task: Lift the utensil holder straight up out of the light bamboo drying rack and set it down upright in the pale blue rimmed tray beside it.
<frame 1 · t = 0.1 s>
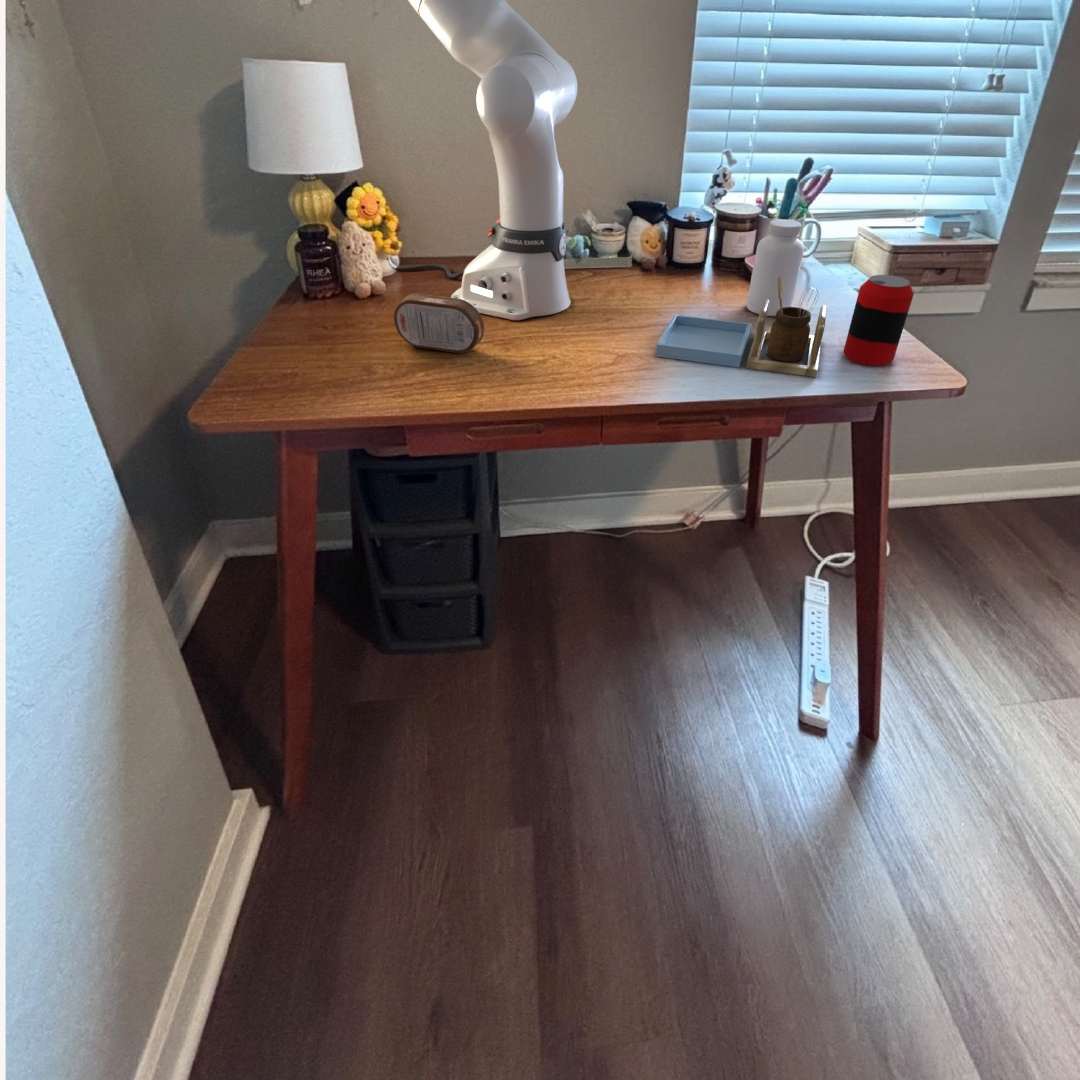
soda can: (867, 358, 115), on the table
tin: (440, 349, 118), on the table
utensil holder: (783, 356, 115), resting in rack
rack: (784, 355, 115), on the table
pill bottle: (768, 310, 132), on the table
tray: (703, 345, 119), on the table
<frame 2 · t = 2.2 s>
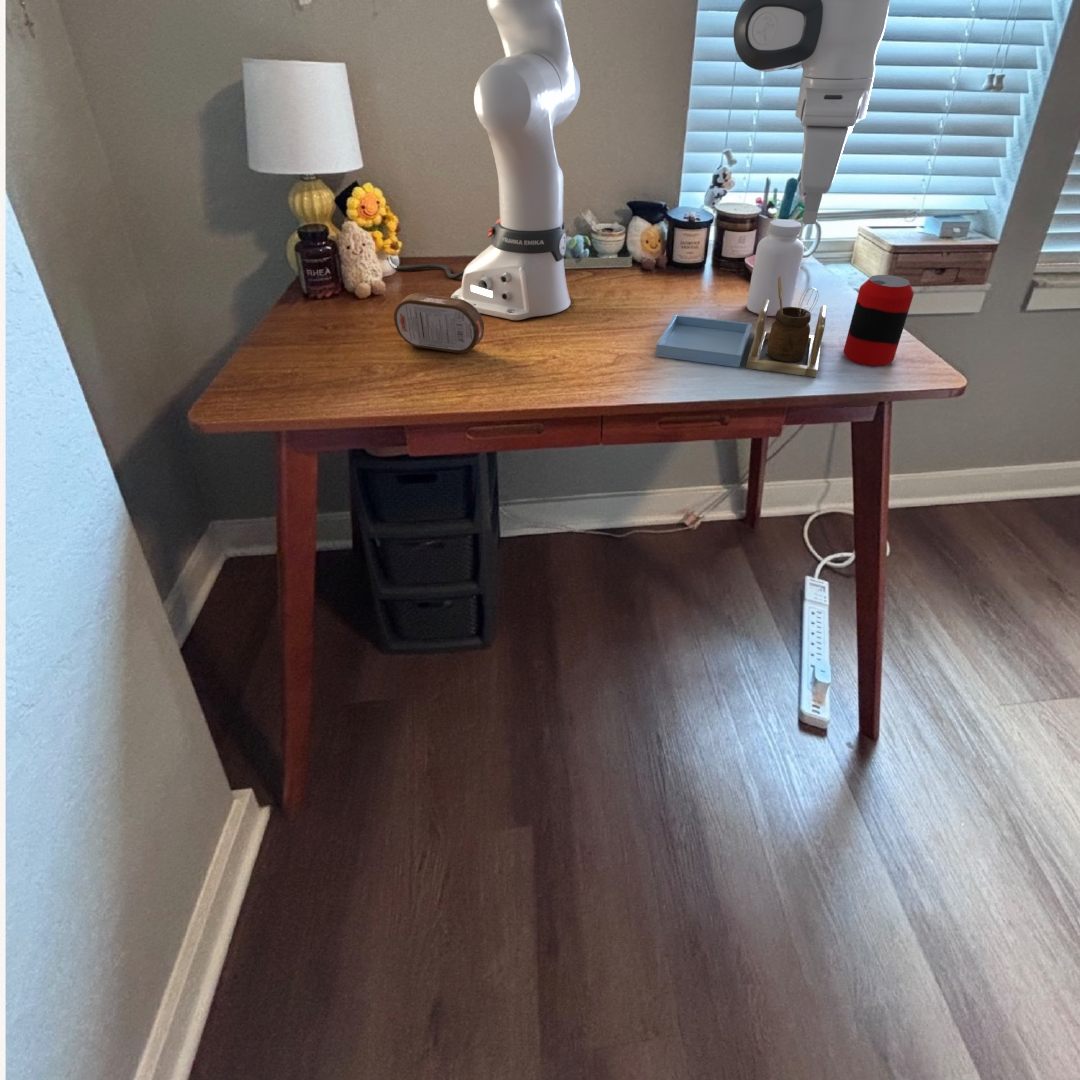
hand: (810, 215, 103), 21 cm above the table, tool pointing down, fingers open, 8 cm apart
nothing on the table moved.
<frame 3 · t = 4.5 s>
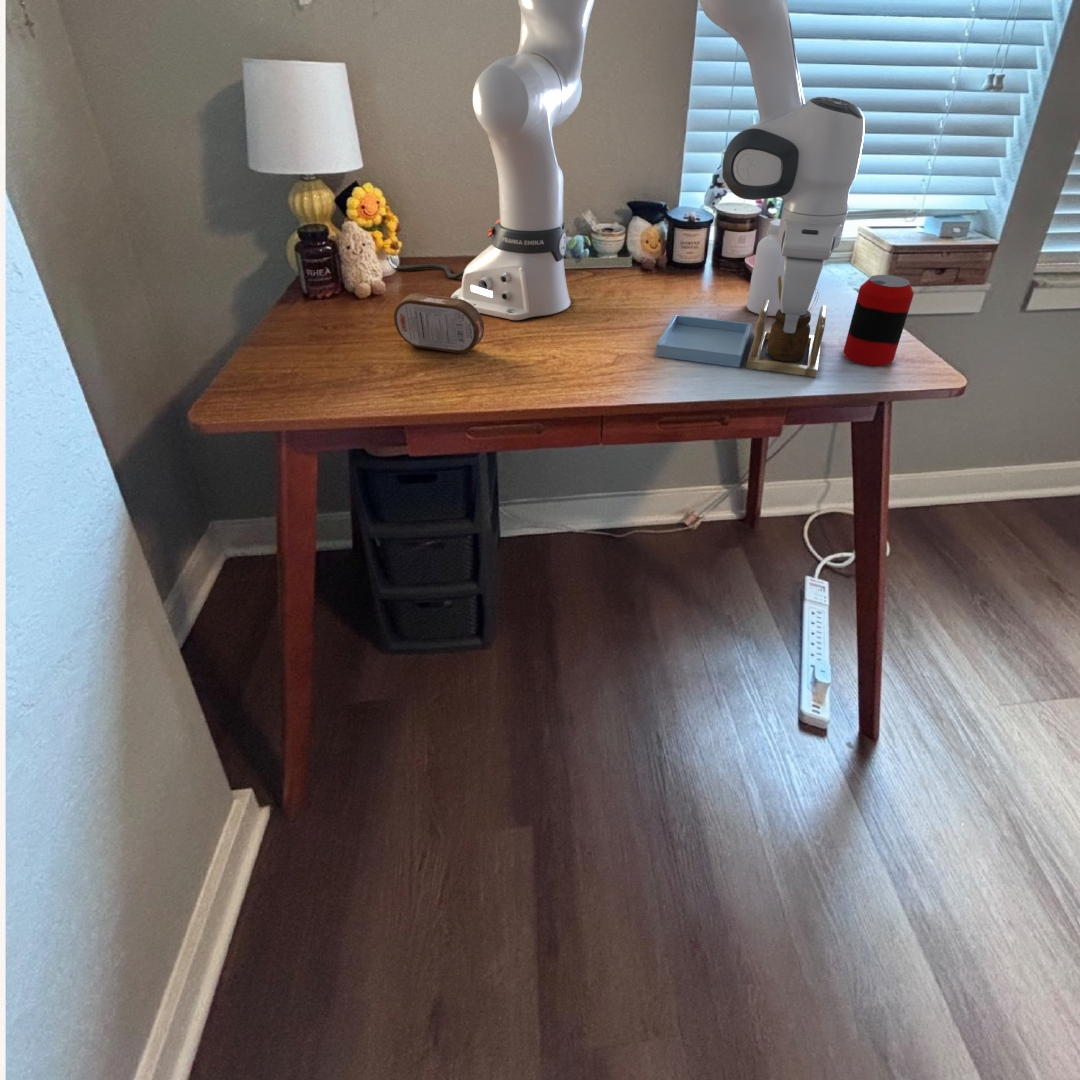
hand: (790, 323, 112), 5 cm above the table, tool pointing down, fingers closed on utensil holder, 5 cm apart
utensil holder: (783, 356, 115), resting in rack, touching gripper
everything else where it was.
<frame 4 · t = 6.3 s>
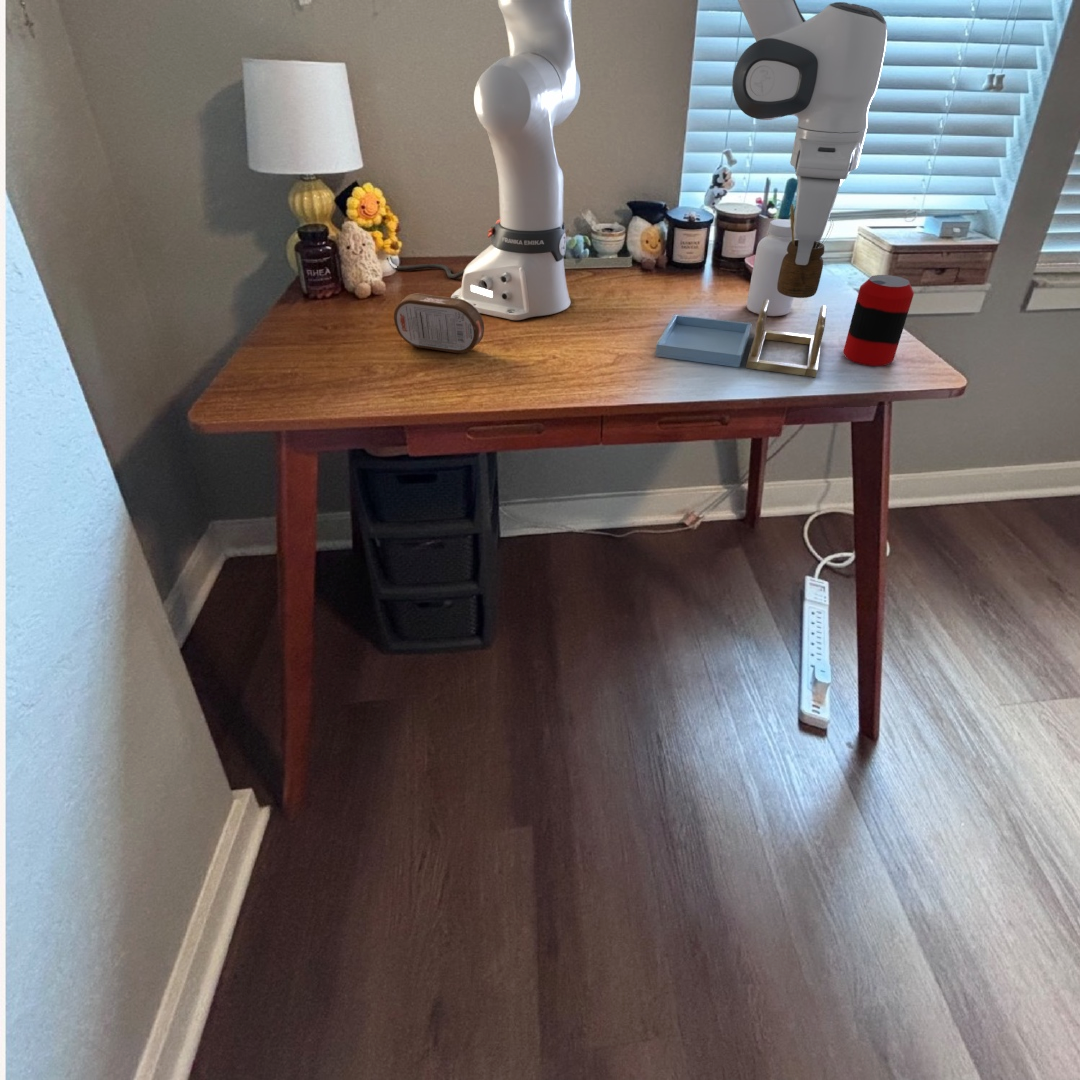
hand: (802, 257, 106), 15 cm above the table, tool pointing down, fingers closed on utensil holder, 5 cm apart
utensil holder: (794, 293, 110), point 10 cm above the table, touching gripper
everything else where it was.
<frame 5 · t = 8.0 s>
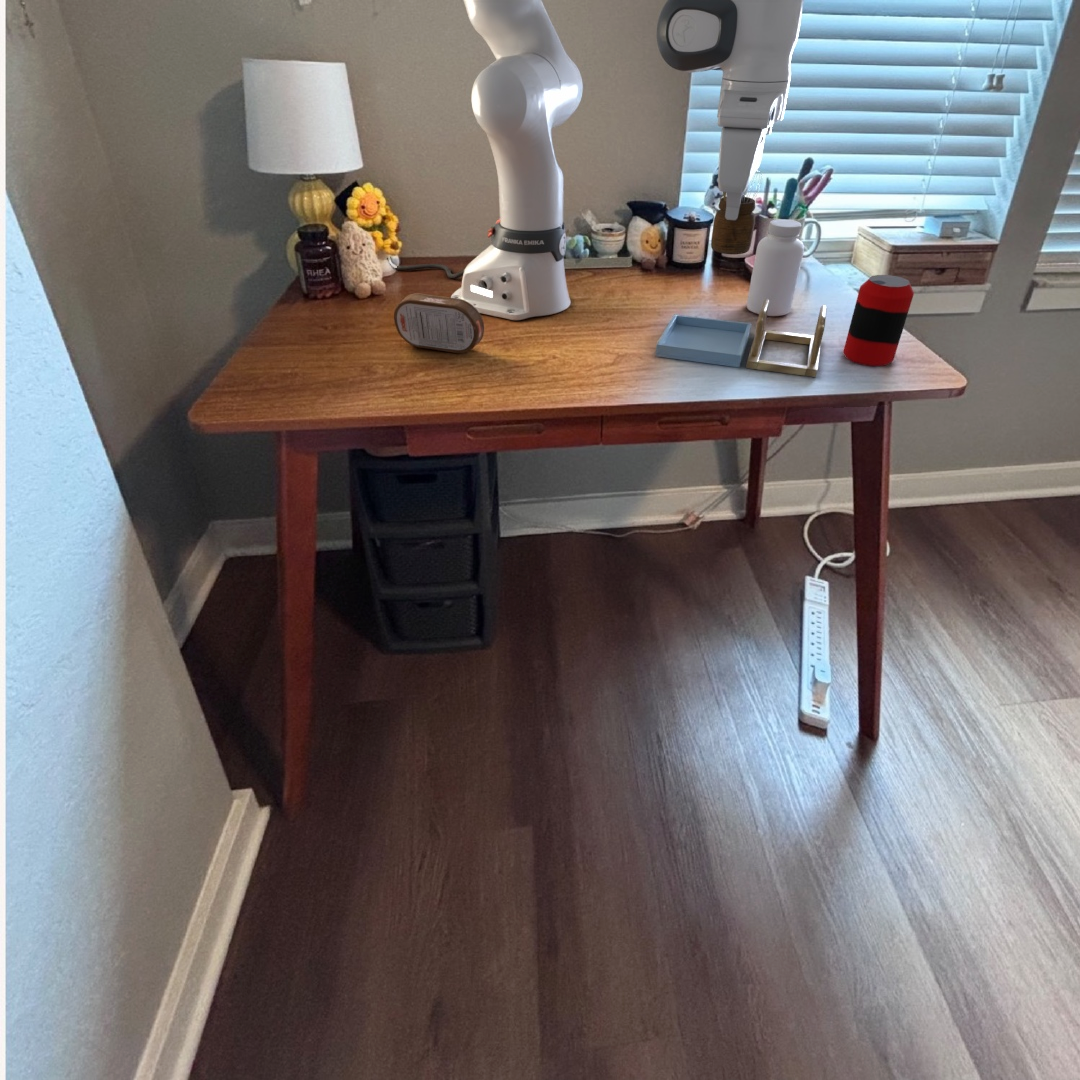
hand: (734, 213, 106), 20 cm above the table, tool pointing down, fingers closed on utensil holder, 5 cm apart
utensil holder: (728, 250, 109), point 15 cm above the table, touching gripper
everything else where it was.
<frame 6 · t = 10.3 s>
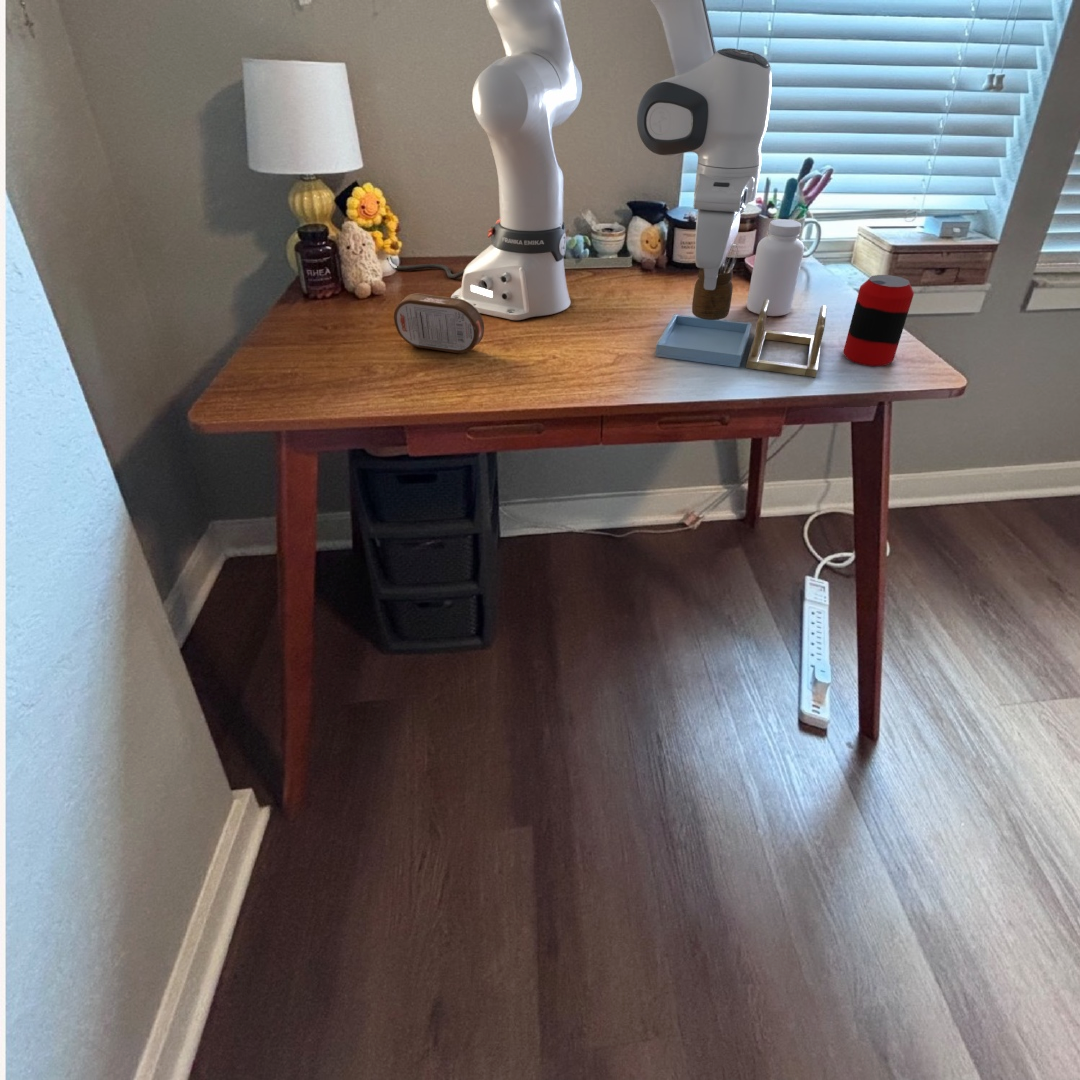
hand: (713, 282, 112), 10 cm above the table, tool pointing down, fingers closed on utensil holder, 5 cm apart
utensil holder: (708, 315, 116), point 5 cm above the table, touching gripper
everything else where it was.
when the fingers open (5 cm above the table, at t = 12.0 s): utensil holder stays where it is, resting on tray.
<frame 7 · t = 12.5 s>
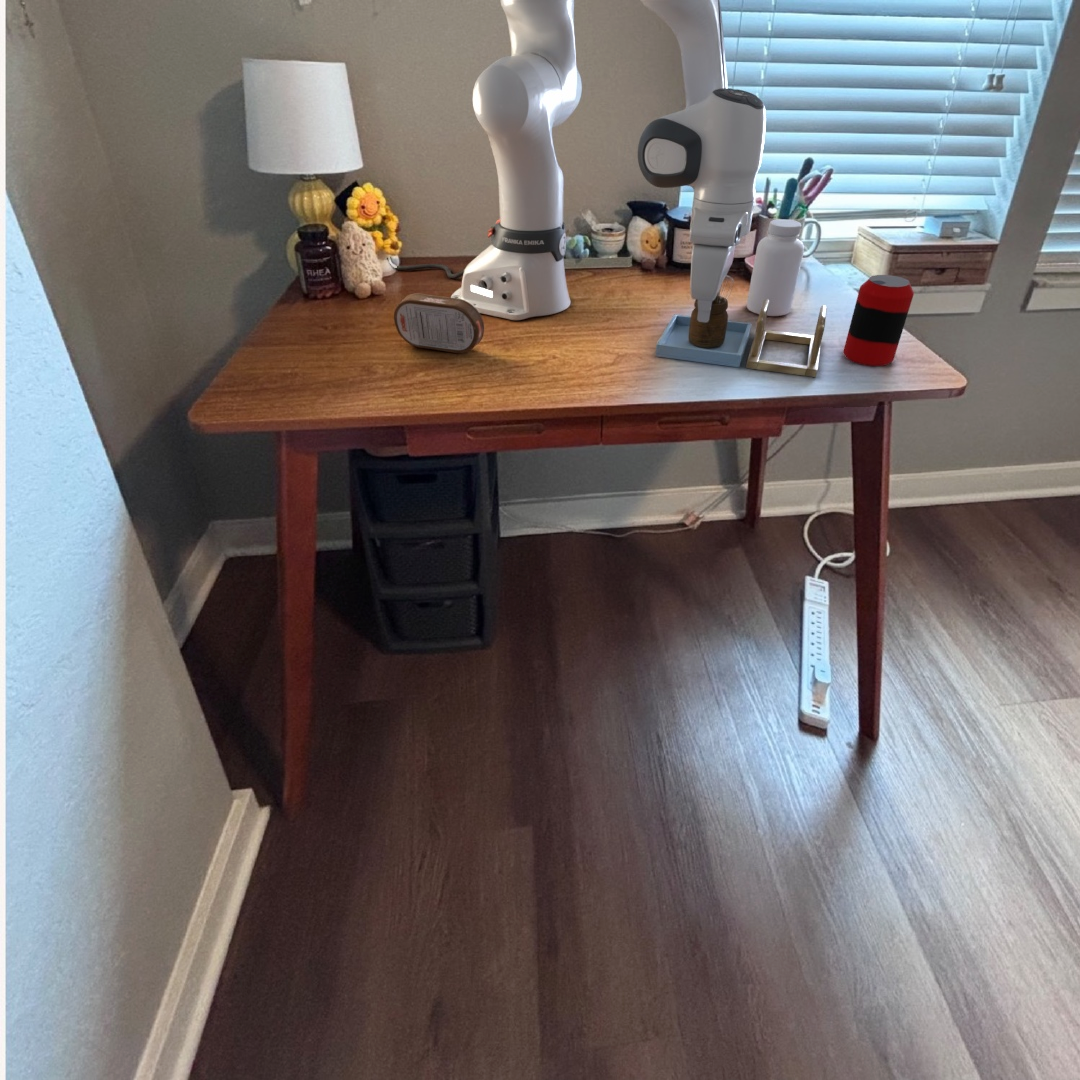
hand: (708, 310, 115), 6 cm above the table, tool pointing down, fingers open, 8 cm apart
utensil holder: (704, 343, 119), resting on tray
everything else where it was.
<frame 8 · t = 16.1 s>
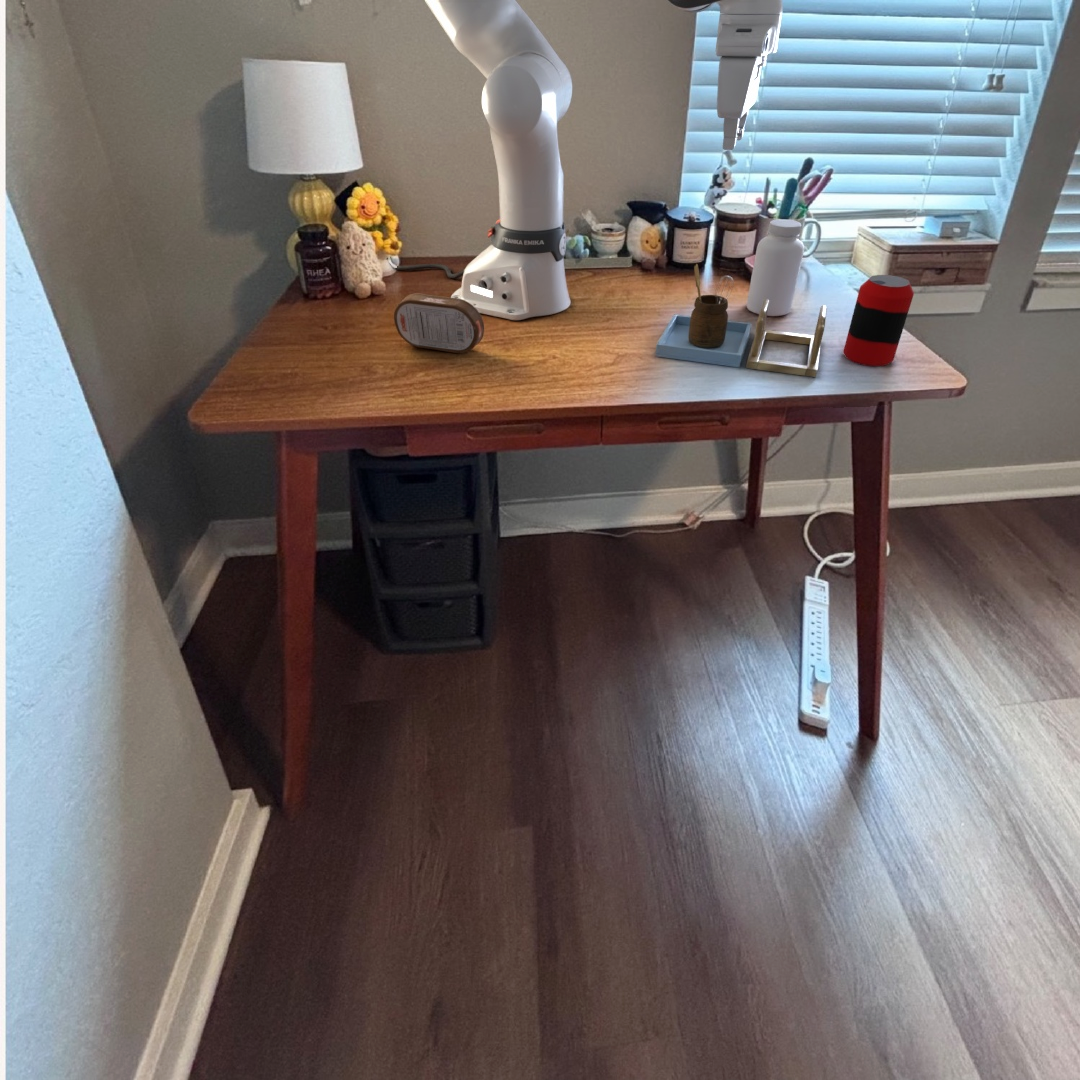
hand: (732, 144, 114), 27 cm above the table, tool pointing down, fingers open, 8 cm apart
nothing on the table moved.
at the end: utensil holder inside the target area in the tray (0.1 cm from its centre), point 0.3 cm above the tray's base; utensil holder tilted 0°; the gripper is holding nothing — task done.
